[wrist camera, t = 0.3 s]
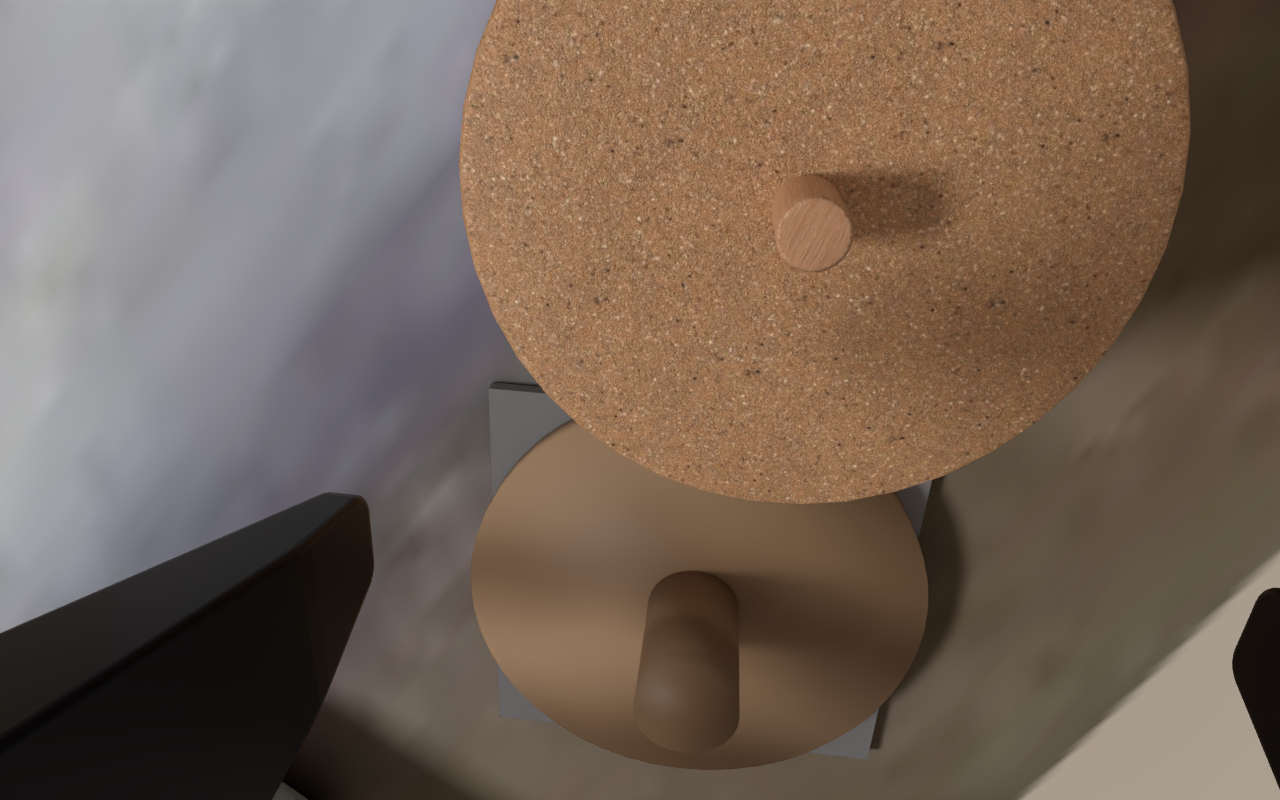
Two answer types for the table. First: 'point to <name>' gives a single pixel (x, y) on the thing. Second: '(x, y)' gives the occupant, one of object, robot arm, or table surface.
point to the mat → (532, 416)
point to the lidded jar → (819, 222)
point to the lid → (692, 608)
